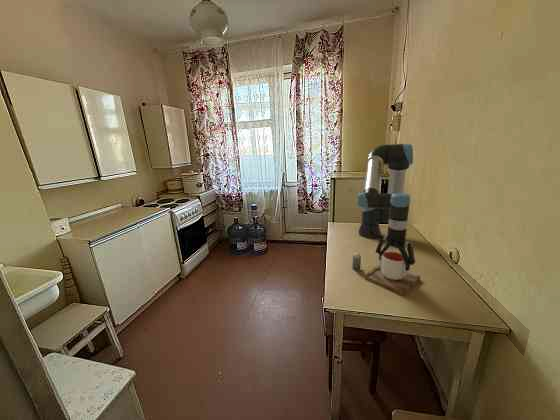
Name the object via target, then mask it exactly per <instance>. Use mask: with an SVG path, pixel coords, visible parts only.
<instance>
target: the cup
mask: <svg viewBox="0 0 560 420" xmlns="http://www.w3.org/2000/svg"><path fill="white" fill-rule="evenodd" d="M404 263H405V261H404V259H403V256H402V254H401V252H397V251H385V252H384V253H383V256H382V269H381V272H382V274H383V275H384V276H385V277H387V278H389V279H393V280H399V279H402V278H403V277H402V274H403V266H404Z"/></svg>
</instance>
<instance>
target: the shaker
mask: <svg viewBox="0 0 560 420" xmlns="http://www.w3.org/2000/svg"><path fill="white" fill-rule="evenodd" d="M361 262H362V255H361V254H360V253H358V252H355V253H354V254H353V255H352V266H351V267H352V270H354V271H357V272H358V271H361V265H362V263H361Z"/></svg>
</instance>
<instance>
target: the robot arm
mask: <svg viewBox="0 0 560 420" xmlns="http://www.w3.org/2000/svg"><path fill="white" fill-rule="evenodd" d="M413 149H414V148H413V144H411V143H397V144H396V143H395V144H394V143H393V144H380V145H378V146H376V147H375V148H373V149H372V150H371V151H370V152H369V153H368V154H367V157H366V159H365V165H366V172H365V177H364V178H365V179H364V185H363V190H362V192H359V193H358V194H357V195H358V196H357V206H358V207H359V208H362V210H361V211H362V212H361V213H362V214H361V225H360V227H359V229H358V235H359V236H361V237H363V238H369V239H376V238H379V239H380V240H379V242H378V244H377V246H376V249H375V251H374V253H377V254H378V261H379V265H380V268H382V256H383V253H385V252H387V250H388V249H389V248H390V247H394V248H396V249H398V251H399V253H400V254H402V256H403V259H404V261H405V263H404V266H403V274H402V277H405V276H406V275H407V272H409V271H410V269H411V266H413V265H415V264H416V259H415V252H414V249H413V246H414V242H412V241H410V242H409V241H407V239H406V238H407V228H408V220H409V211H410V204H411V196H410V195H409V194H408V193H405V192H404V186H405V178H406V173H407V170H408V169H409V168H410V166H411V165H413V164H414V152H413V151H414V150H413ZM385 165H387V168H388V169H389V176H388V177H389V178H388V185H387V187H388V188H387V189H388V190H387V193H383V192H382V193H380V183H381V173H382V167H383V166H385ZM383 222H384V223H387V224H388V225H387V226H388V227H387V235H386V234H382V231H381V228H380V227H381V226H380V223H383ZM386 240H387V243H386V244H385V246H384V243H385V242H386ZM383 246H384V247H383ZM405 246H406V247H405ZM406 250H407V251H406Z"/></svg>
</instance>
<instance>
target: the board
mask: <svg viewBox="0 0 560 420" xmlns="http://www.w3.org/2000/svg"><path fill="white" fill-rule="evenodd" d="M381 269H382V268H380V264H378V265H377V266H376V267H374V268H373V269H371V270H370V271H368V272H367V273H365V274H364V280H367V281H369V282H372V283H374V284H375V285H378V286H380V287H382V288H385V289H387V290H389V291H391V292H393V293H395V294H398V295H400V296H401V297H404V295H405V294H406V293H407V292H408V291H410V290H411V289H412V288H413V287H414V286H415V285H417V283H418V282H419V281H420V280H421V277H422V276H421V275H419V274H413V273H410V272H409V271H407V275H406V276H405V277H403V278H402V279H399V280H393V279H389V278H387V277H385V276H384V275H383V274H382V272H381Z"/></svg>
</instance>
